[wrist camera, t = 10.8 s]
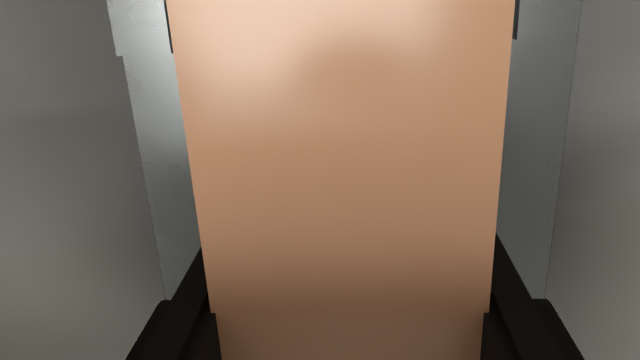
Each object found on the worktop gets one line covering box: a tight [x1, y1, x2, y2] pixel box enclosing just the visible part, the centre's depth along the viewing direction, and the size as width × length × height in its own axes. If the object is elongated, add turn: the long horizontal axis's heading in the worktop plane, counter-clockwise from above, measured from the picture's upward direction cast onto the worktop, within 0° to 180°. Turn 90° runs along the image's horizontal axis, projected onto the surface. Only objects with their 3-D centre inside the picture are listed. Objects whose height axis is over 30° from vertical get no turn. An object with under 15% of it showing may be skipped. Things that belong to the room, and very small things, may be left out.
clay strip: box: [166, 0, 515, 360], centre depth 10 cm, size 4×14×3 cm, turn 3°
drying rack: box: [107, 0, 582, 300], centre depth 13 cm, size 19×10×4 cm, turn 3°
